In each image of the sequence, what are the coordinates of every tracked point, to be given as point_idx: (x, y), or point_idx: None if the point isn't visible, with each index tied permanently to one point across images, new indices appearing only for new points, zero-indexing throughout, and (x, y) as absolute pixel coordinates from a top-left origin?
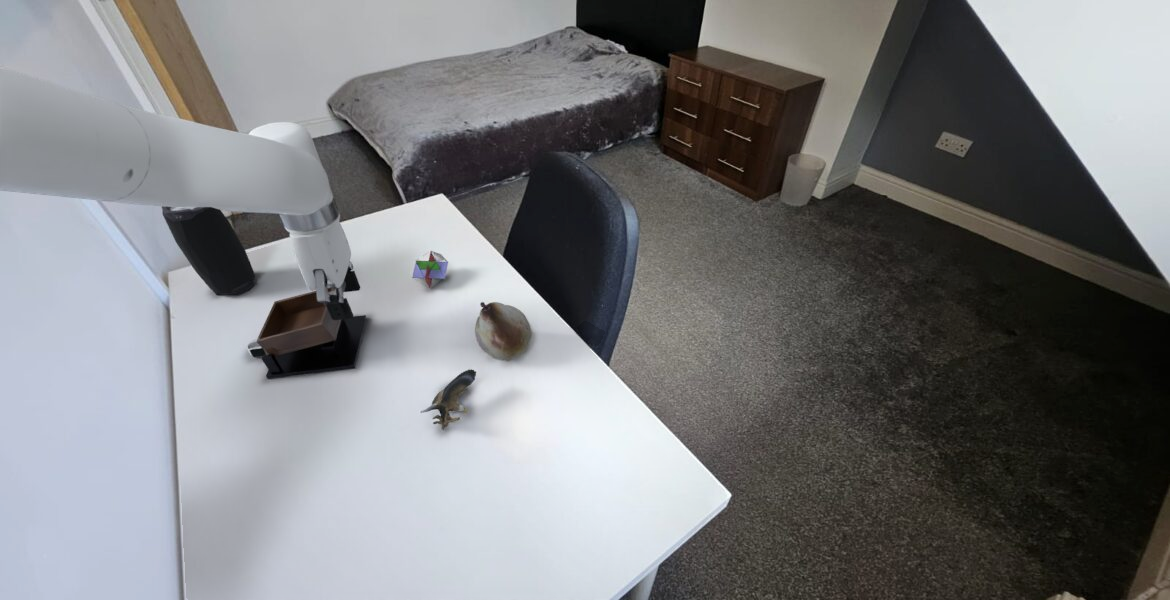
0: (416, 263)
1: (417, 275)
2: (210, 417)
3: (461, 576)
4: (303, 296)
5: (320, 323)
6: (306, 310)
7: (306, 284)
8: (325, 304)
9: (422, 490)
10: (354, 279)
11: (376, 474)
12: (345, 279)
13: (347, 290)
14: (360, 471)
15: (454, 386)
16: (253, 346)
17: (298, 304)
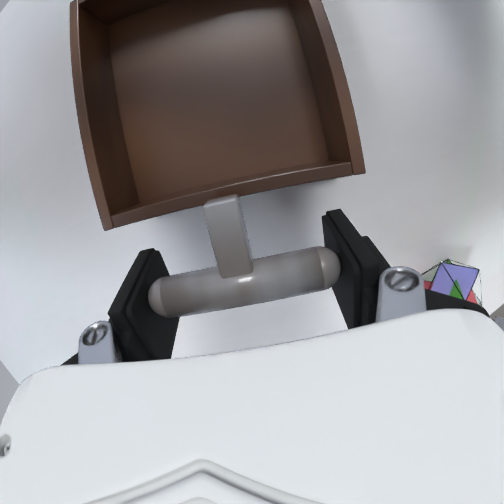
0: (473, 269)
1: (443, 272)
2: (26, 10)
3: (12, 371)
4: (317, 28)
5: (106, 220)
6: (295, 32)
7: (3, 418)
8: (89, 331)
9: (34, 348)
10: (343, 316)
11: (21, 307)
12: (345, 287)
13: (325, 241)
14: (14, 290)
15: None
16: None
17: (299, 9)
